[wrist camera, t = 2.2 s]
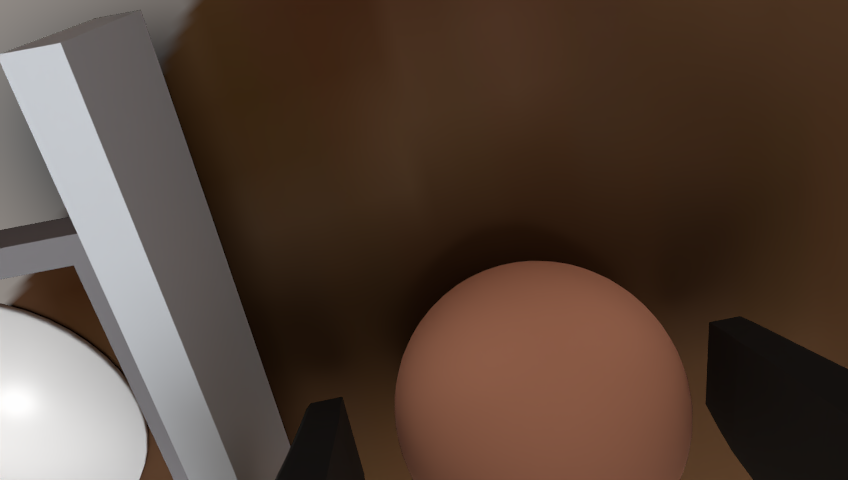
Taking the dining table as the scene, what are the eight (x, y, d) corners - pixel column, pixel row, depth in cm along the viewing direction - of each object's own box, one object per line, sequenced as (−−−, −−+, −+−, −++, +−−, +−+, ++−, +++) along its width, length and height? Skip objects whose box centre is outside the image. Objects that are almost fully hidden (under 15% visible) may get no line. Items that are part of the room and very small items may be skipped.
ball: (496, 166, 13) (584, 309, 8) (670, 299, 15) (826, 481, 10) (338, 350, 15) (333, 563, 10) (514, 450, 17) (584, 672, 12)
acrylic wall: (94, 18, 11) (-3, 54, 8) (140, 9, 11) (60, 42, 8) (314, 602, 18) (307, 742, 15) (342, 596, 18) (340, 734, 15)
